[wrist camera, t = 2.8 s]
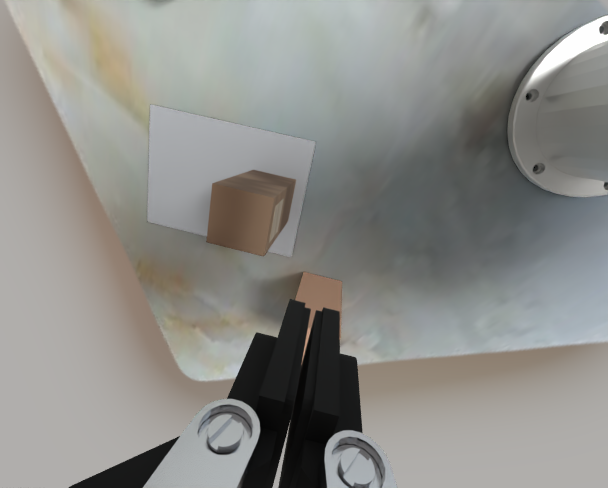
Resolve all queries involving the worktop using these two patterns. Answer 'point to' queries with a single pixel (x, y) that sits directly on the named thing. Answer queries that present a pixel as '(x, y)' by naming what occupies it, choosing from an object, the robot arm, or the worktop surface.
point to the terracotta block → (319, 296)
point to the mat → (217, 168)
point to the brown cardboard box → (249, 211)
